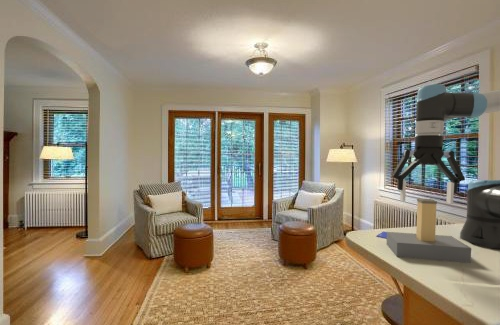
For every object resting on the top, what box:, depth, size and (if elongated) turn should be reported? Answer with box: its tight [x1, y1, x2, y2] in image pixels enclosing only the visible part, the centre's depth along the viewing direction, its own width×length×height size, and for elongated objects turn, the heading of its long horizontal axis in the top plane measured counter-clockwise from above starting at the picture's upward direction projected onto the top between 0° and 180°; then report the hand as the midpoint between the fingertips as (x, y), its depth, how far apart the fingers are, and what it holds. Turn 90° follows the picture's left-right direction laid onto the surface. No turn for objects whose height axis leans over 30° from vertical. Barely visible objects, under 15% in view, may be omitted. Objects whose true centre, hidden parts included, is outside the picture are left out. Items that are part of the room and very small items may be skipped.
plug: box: [415, 198, 438, 242], centre depth 90 cm, size 4×4×15 cm
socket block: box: [386, 231, 472, 264], centre depth 91 cm, size 20×12×5 cm, turn 78°
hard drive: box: [375, 231, 388, 240], centre depth 106 cm, size 2×8×12 cm
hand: (425, 201), depth 90 cm, fingers open, 13 cm apart
